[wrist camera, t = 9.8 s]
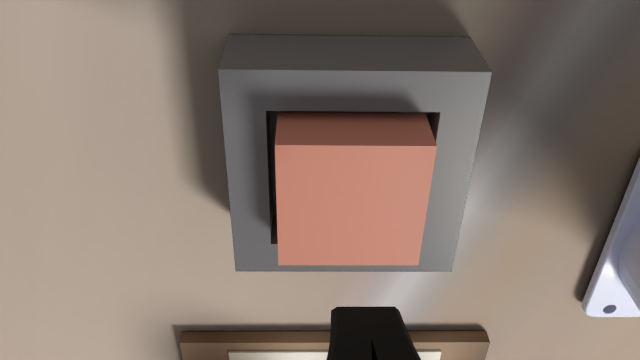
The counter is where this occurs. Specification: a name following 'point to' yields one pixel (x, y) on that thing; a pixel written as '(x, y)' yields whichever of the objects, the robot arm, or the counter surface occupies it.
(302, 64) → the button housing
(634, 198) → the robot arm
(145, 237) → the counter surface
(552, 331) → the counter surface
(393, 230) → the button
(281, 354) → the board
